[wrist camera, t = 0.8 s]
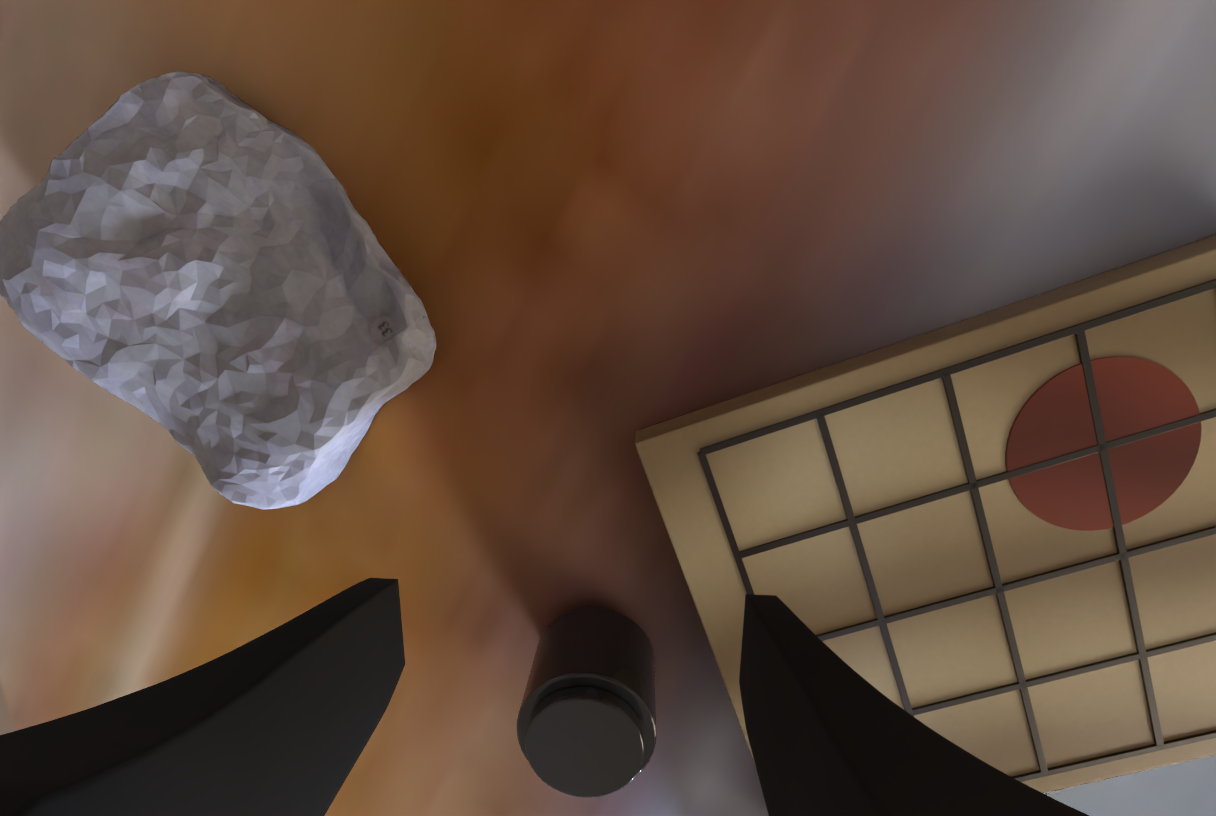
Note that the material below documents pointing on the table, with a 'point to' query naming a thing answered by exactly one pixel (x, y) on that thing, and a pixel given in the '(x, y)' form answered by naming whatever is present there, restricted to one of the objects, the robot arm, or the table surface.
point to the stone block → (217, 287)
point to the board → (986, 521)
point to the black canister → (589, 703)
